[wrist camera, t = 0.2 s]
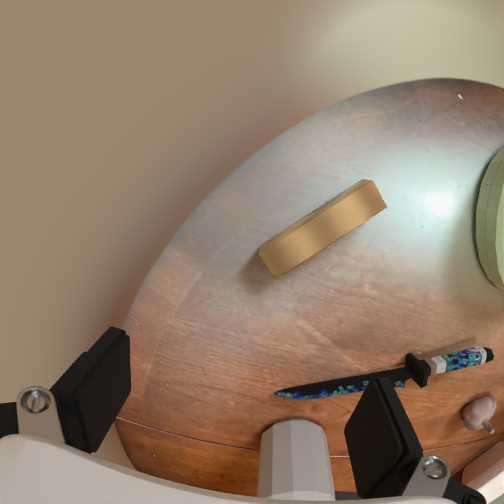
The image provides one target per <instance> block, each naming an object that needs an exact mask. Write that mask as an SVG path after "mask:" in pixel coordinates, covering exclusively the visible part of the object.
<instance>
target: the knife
mask: <svg viewBox="0 0 504 504" xmlns="http://www.w3.org/2000/svg"><path fill="white" fill-rule="evenodd" d="M493 357H494V355H493V352H492V350H491V349H489V348H486V347H482V346H476V347H472V348H469V349H465V350H461V351H458V352H454V353H450V354H446V355H442V356H438V357H433V358H429V359H424V360H418V359H417V358H416V357H415V356H413V355H412V354H411V353H410V354H408V355H406V366H405V367H403V368H398V369H392V370H386V371H381V372H375V373H370V374H365V375H359V376H353V377H347V378H341V379H336V380H330V381H324V382H319V383H313V384H307V385H302V386H296V387H291V388H287V389H283V390H279V391H277V392H275V393H274V394H275V395H278V396H280V397H286V398H292V399H315V398H323V397H330V396H336V395H342V394H347V393H353V392H358V391H364V390H365V389H366V387H367V385H368V383H369V382H370V381H373V379H374V378H388V379H390V381H391V383H392V385H393V387H405V385H404V384H405V381H406V380H408V379H410V378H412V379H413V380H414V381H415V382H416V383H417V384H418V385H419V386H420V387H421V388H423V387H425V386H426V385H427V379H428V376H430V375H432V374H438V373H443V372H448V371H453V370H458V369H462V368H467V367H471V366H475V365H479V364H484V363H487V362H489V361H491V360H493Z"/></svg>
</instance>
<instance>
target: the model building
mask: <svg viewBox="0 0 504 504" xmlns="http://www.w3.org/2000/svg"><path fill="white" fill-rule="evenodd" d="M335 499H336V501H341V500H361V499H362V498H361V497H359V496H358V494H357V493H348V492H335Z"/></svg>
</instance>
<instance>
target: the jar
mask: <svg viewBox="0 0 504 504" xmlns="http://www.w3.org/2000/svg"><path fill="white" fill-rule="evenodd" d="M257 497H258V498H268V499H281V500H300V501H336V499H335V492H334V485H333V478H332V471H331V465H330V458H329V452H328V445H327V439H326V435H325V433H324V431H323V429H322V427H320V426H318V425H316V424H314V423H312V422H310V421H307V420H305V419H288V420H284V421H281V422H277V423H275V424H274V425H273V426H271V427H270V428H269V429H268V430H266V431H265V432H264V433H263V434H262V438H261V443H260V458H259V475H258V490H257Z"/></svg>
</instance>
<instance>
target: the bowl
mask: <svg viewBox="0 0 504 504" xmlns="http://www.w3.org/2000/svg"><path fill="white" fill-rule="evenodd" d="M462 484H464V485H466V486H468V487H470V488H472V489H474V490H477V491H478V492H480V493H481V494H482V495H483V496H484V497H485V499H486V503H487V504H489V503H490V502H492V501H493V500H495V499H496V498H498V497H499V496H500V495H502V494H503V493H504V442H502V441H500V442H498V443H497V444H495V445H494V446H492V447H491V448H490V449H488V450H487V451H486V452H484V453H483V454H482V455H480V456H479V457H478V458H476V459H475V460H473V461H472V462H471V463H470V464H468V465H467V466H466V467H464V469H463V475H462Z"/></svg>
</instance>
